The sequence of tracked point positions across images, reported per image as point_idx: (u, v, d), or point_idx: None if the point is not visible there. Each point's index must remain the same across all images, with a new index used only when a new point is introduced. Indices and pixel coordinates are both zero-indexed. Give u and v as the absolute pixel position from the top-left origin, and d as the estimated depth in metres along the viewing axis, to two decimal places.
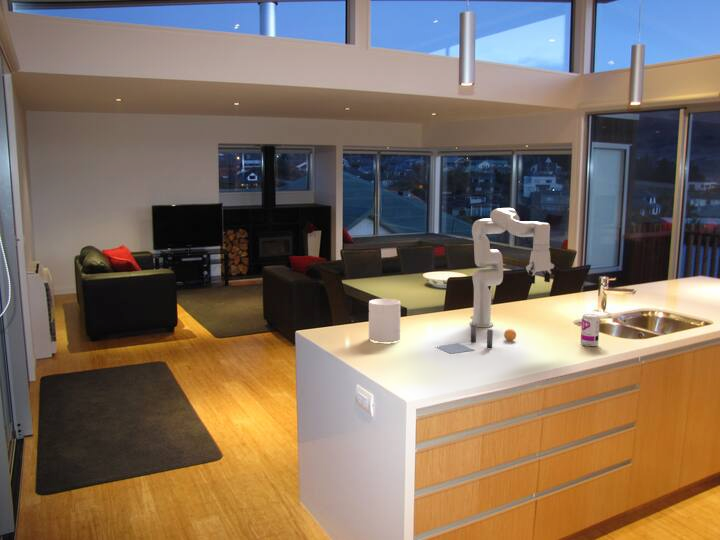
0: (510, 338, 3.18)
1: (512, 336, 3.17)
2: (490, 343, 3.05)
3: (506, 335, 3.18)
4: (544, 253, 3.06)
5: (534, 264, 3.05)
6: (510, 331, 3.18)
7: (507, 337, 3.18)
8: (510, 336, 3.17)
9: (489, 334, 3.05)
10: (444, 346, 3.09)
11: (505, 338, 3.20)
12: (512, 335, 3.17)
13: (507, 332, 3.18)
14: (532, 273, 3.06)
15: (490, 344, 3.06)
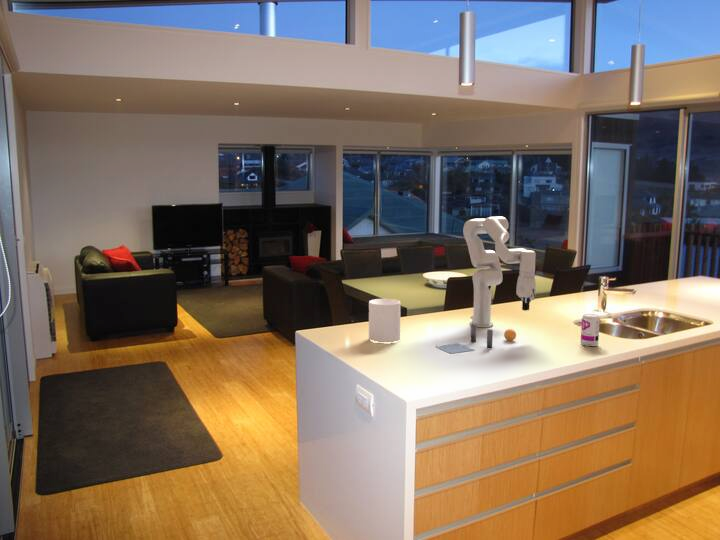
0: (510, 338, 3.18)
1: (512, 336, 3.17)
2: (490, 343, 3.05)
3: (506, 335, 3.18)
4: None
5: (535, 290, 3.17)
6: (510, 331, 3.18)
7: (507, 337, 3.18)
8: (510, 336, 3.17)
9: (489, 334, 3.05)
10: (444, 346, 3.09)
11: (505, 338, 3.20)
12: (512, 335, 3.17)
13: (507, 332, 3.18)
14: (530, 301, 3.21)
15: (490, 344, 3.06)
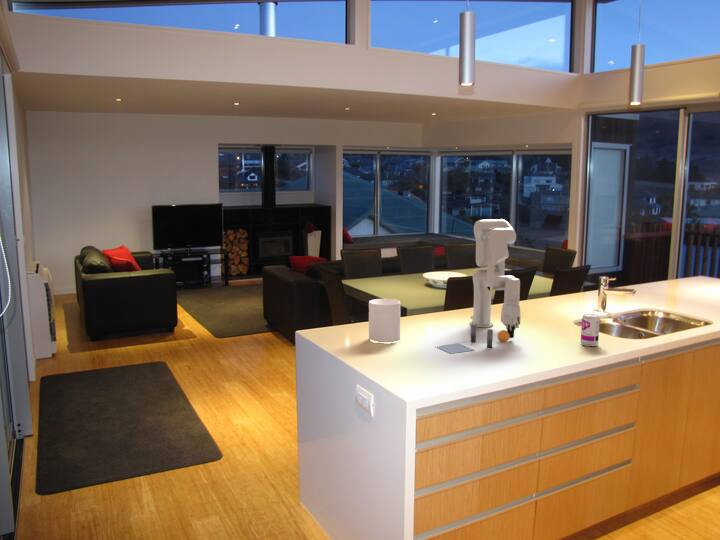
0: (506, 340, 3.17)
1: (506, 339, 3.16)
2: (490, 343, 3.05)
3: (502, 341, 3.17)
4: None
5: (519, 318, 3.15)
6: (501, 338, 3.16)
7: (504, 341, 3.18)
8: (505, 340, 3.16)
9: (489, 334, 3.05)
10: (444, 346, 3.09)
11: None
12: (506, 338, 3.15)
13: (500, 340, 3.17)
14: (514, 329, 3.19)
15: (490, 344, 3.06)
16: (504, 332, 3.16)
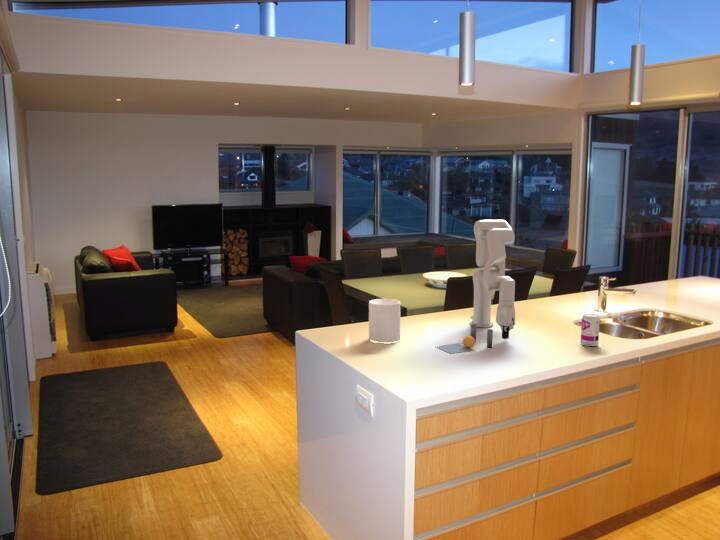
0: None
1: (474, 343, 3.05)
2: (490, 343, 3.05)
3: None
4: None
5: (514, 319, 3.14)
6: (470, 347, 3.05)
7: None
8: None
9: (489, 334, 3.05)
10: (444, 346, 3.09)
11: None
12: (473, 345, 3.04)
13: None
14: (509, 330, 3.17)
15: (490, 344, 3.06)
16: (467, 343, 3.04)
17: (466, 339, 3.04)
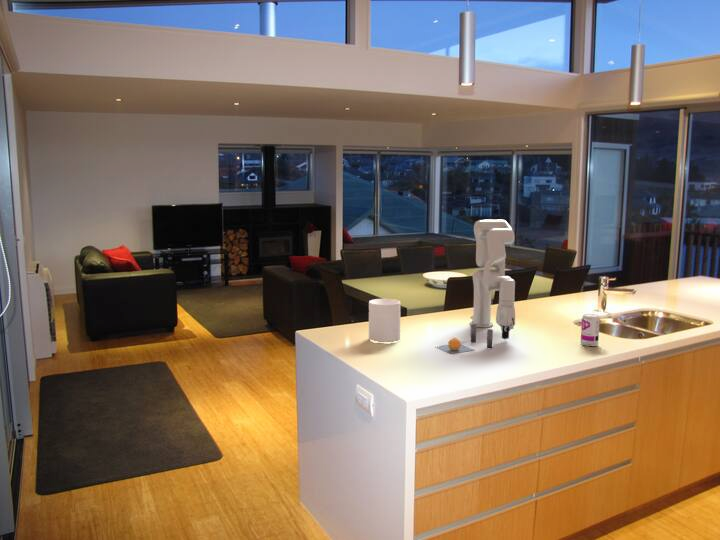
0: (454, 345, 2.99)
1: (456, 344, 2.99)
2: (490, 343, 3.05)
3: (452, 340, 3.00)
4: None
5: (514, 319, 3.14)
6: (457, 339, 3.01)
7: (451, 342, 3.00)
8: (455, 342, 2.99)
9: (489, 334, 3.05)
10: (444, 346, 3.09)
11: (448, 344, 3.01)
12: (457, 343, 2.99)
13: (454, 338, 3.01)
14: (509, 330, 3.17)
15: (490, 344, 3.06)
16: (460, 344, 3.02)
17: None
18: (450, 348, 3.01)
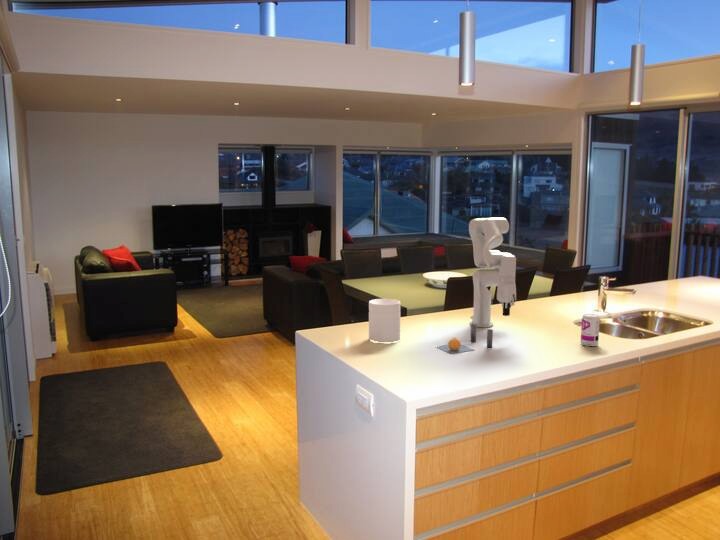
0: (454, 345, 2.99)
1: (456, 344, 2.99)
2: (490, 343, 3.05)
3: (452, 340, 3.00)
4: None
5: (515, 296, 3.12)
6: (457, 339, 3.01)
7: (451, 342, 3.00)
8: (455, 342, 2.99)
9: (489, 334, 3.05)
10: (444, 346, 3.09)
11: (448, 344, 3.01)
12: (457, 343, 2.99)
13: (454, 338, 3.01)
14: (510, 306, 3.16)
15: (490, 344, 3.06)
16: (460, 344, 3.02)
17: None
18: (450, 348, 3.01)
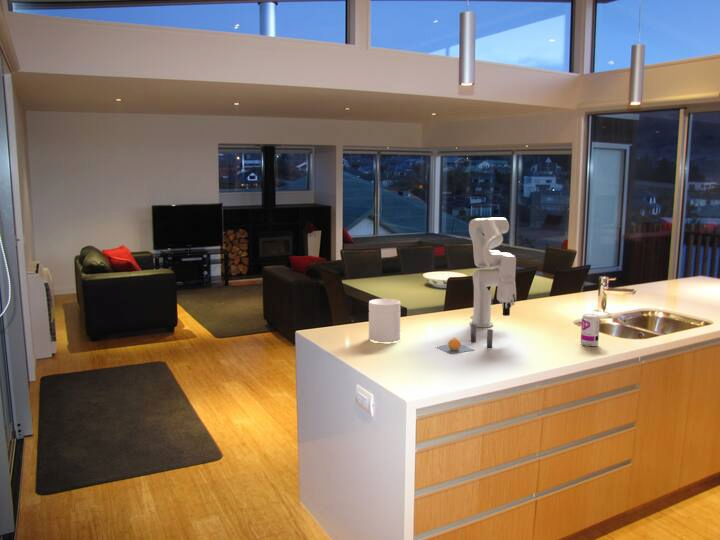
0: (454, 345, 2.99)
1: (456, 344, 2.99)
2: (490, 343, 3.05)
3: (452, 340, 3.00)
4: None
5: (515, 295, 3.12)
6: (457, 339, 3.01)
7: (451, 342, 3.00)
8: (455, 342, 2.99)
9: (489, 334, 3.05)
10: (444, 346, 3.09)
11: (448, 344, 3.01)
12: (457, 343, 2.99)
13: (454, 338, 3.01)
14: (510, 306, 3.16)
15: (490, 344, 3.06)
16: (460, 344, 3.02)
17: None
18: (450, 348, 3.01)
